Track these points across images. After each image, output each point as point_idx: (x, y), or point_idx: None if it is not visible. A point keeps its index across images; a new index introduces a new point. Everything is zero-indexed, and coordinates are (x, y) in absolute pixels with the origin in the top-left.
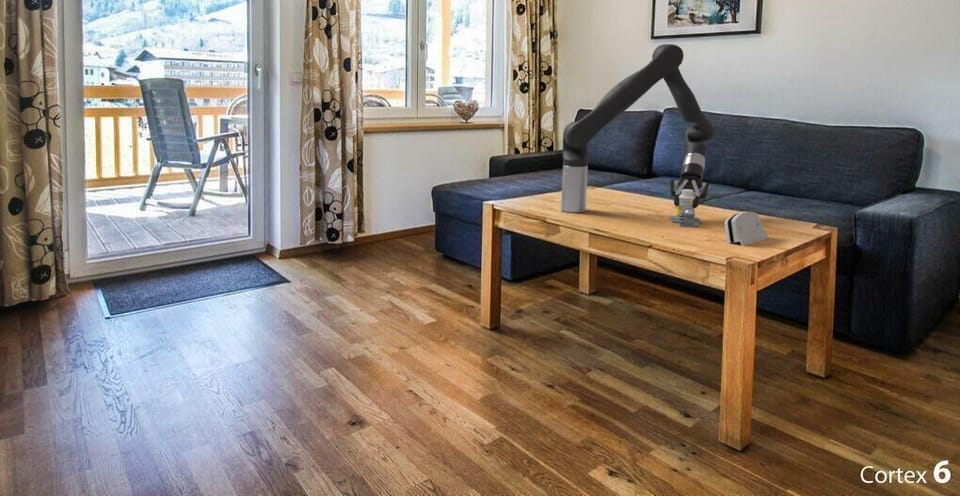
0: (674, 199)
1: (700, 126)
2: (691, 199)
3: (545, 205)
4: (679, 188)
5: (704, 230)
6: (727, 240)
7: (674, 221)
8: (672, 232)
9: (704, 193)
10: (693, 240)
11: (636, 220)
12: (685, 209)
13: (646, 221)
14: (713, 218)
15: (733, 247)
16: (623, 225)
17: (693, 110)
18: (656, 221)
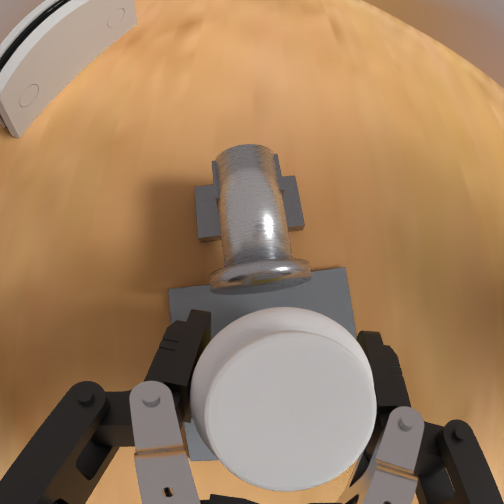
0: (400, 372)
1: None
2: (233, 321)
3: None
4: (407, 473)
5: (174, 138)
6: (135, 18)
7: (333, 272)
8: (315, 74)
9: (75, 400)
10: (236, 14)
11: (496, 263)
12: (281, 232)
13: (461, 256)
14: None
15: (136, 3)
16: (497, 153)
17: None
18: (423, 274)
